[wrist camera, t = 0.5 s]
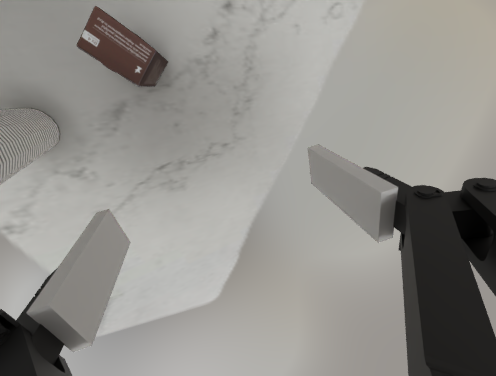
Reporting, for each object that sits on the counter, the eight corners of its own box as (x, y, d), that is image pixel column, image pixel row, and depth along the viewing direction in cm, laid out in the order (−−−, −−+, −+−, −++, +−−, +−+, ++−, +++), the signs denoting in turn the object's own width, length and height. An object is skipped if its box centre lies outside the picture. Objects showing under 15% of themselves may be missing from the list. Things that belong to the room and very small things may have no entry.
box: (169, 59, 33) (158, 50, 22) (154, 87, 34) (137, 91, 23) (127, 28, 30) (93, 2, 20) (113, 59, 31) (73, 49, 21)
